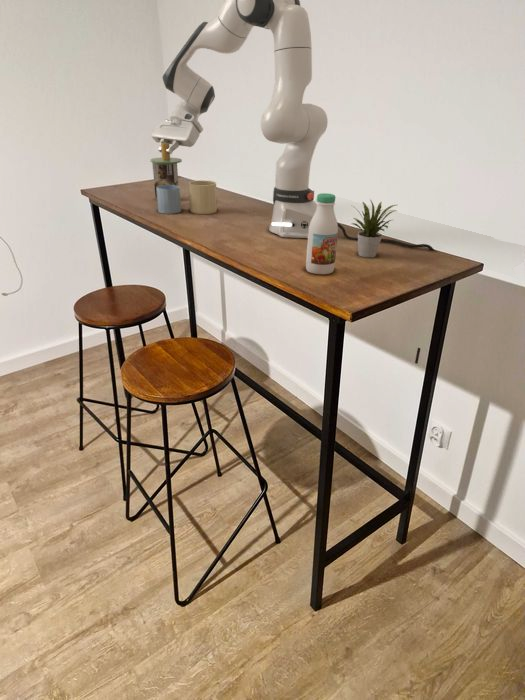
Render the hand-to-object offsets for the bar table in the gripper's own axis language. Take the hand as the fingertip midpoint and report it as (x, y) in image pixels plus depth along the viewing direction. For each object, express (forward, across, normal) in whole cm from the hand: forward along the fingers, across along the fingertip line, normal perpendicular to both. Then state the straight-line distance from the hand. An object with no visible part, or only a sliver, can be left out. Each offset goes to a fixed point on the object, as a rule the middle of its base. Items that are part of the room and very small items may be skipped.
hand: (164, 152), depth 174 cm
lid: (+2, 0, +3) cm, 3 cm away
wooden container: (+8, +9, +22) cm, 25 cm away
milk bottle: (+27, +80, +3) cm, 85 cm away
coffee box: (+5, -17, +26) cm, 31 cm away
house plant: (+12, +85, +18) cm, 88 cm away
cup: (+15, 0, +16) cm, 21 cm away
